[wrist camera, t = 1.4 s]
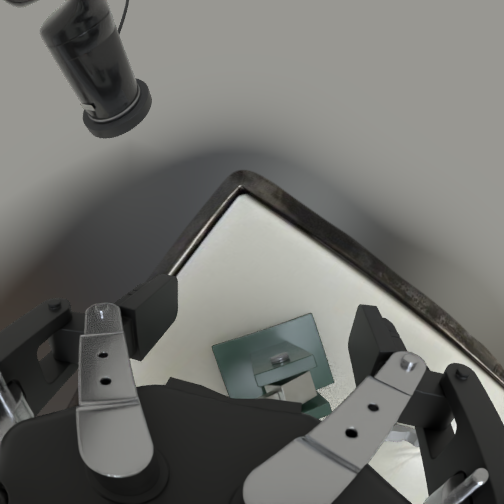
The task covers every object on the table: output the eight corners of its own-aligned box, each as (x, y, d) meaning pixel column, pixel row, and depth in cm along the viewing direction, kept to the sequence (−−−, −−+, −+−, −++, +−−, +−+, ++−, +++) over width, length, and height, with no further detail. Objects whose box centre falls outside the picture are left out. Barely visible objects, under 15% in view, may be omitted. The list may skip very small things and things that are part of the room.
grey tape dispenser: (363, 416, 30) (416, 428, 29) (358, 425, 30) (411, 436, 29) (381, 430, 24) (437, 440, 24) (375, 440, 24) (432, 449, 23)
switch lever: (158, 477, 14) (166, 490, 12) (126, 409, 15) (129, 417, 13) (304, 410, 21) (323, 412, 19) (284, 352, 22) (303, 350, 20)
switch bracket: (237, 413, 30) (234, 468, 16) (212, 345, 32) (191, 364, 18) (331, 380, 31) (382, 412, 18) (309, 313, 33) (352, 308, 19)
